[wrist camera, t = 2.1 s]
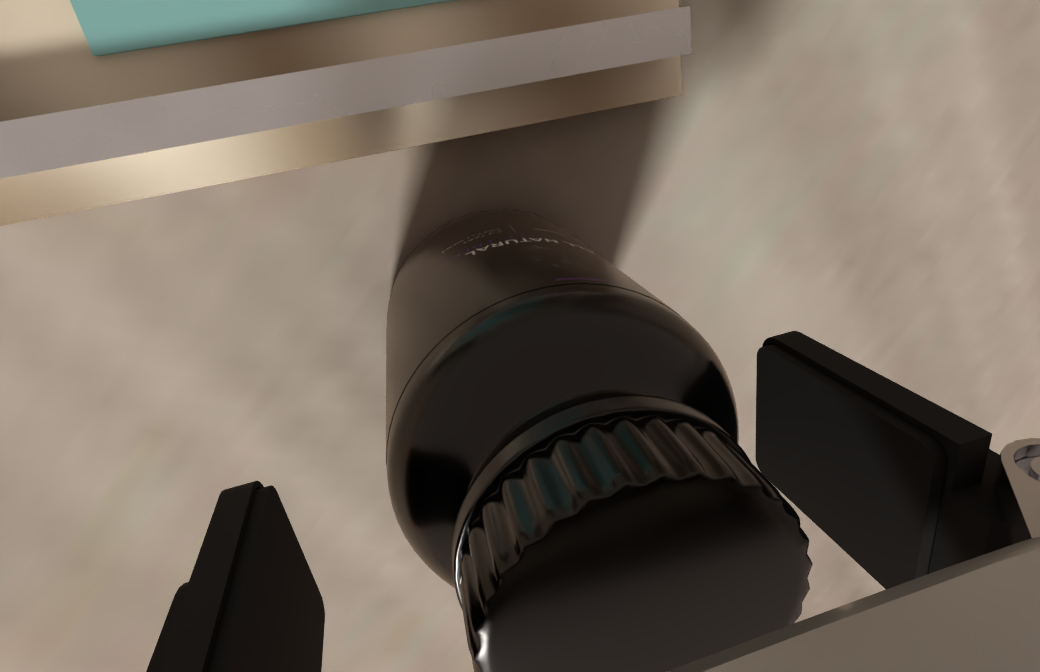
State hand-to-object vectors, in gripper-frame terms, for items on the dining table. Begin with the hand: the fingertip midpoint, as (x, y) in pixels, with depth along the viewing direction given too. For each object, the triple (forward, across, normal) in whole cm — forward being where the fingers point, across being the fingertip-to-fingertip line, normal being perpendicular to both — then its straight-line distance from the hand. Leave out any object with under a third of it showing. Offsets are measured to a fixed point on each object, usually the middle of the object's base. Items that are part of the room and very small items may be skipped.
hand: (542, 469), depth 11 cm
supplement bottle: (+8, -1, 0) cm, 8 cm away
